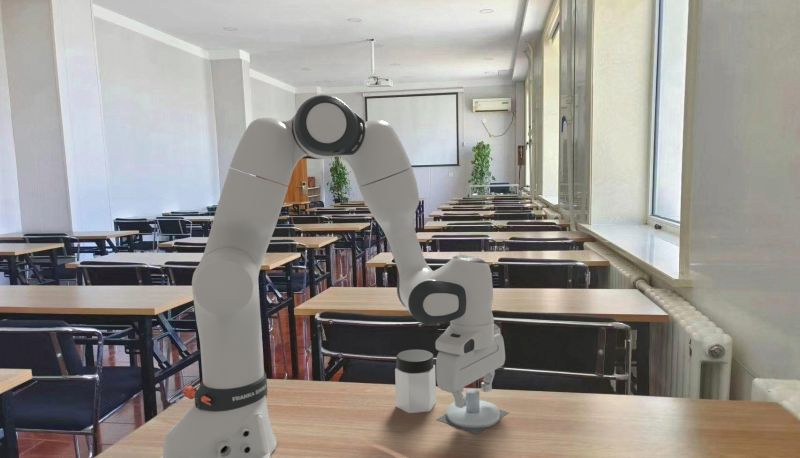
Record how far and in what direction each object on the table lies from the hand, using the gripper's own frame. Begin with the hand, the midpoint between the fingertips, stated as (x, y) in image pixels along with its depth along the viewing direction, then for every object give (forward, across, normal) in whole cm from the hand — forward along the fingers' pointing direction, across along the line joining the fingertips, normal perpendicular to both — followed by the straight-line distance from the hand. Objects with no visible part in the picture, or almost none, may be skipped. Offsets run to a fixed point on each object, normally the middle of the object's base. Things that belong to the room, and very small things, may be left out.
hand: (474, 398), depth 110 cm
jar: (+5, +3, -13) cm, 14 cm away
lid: (+4, 0, 0) cm, 4 cm away
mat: (+4, 0, 0) cm, 5 cm away
